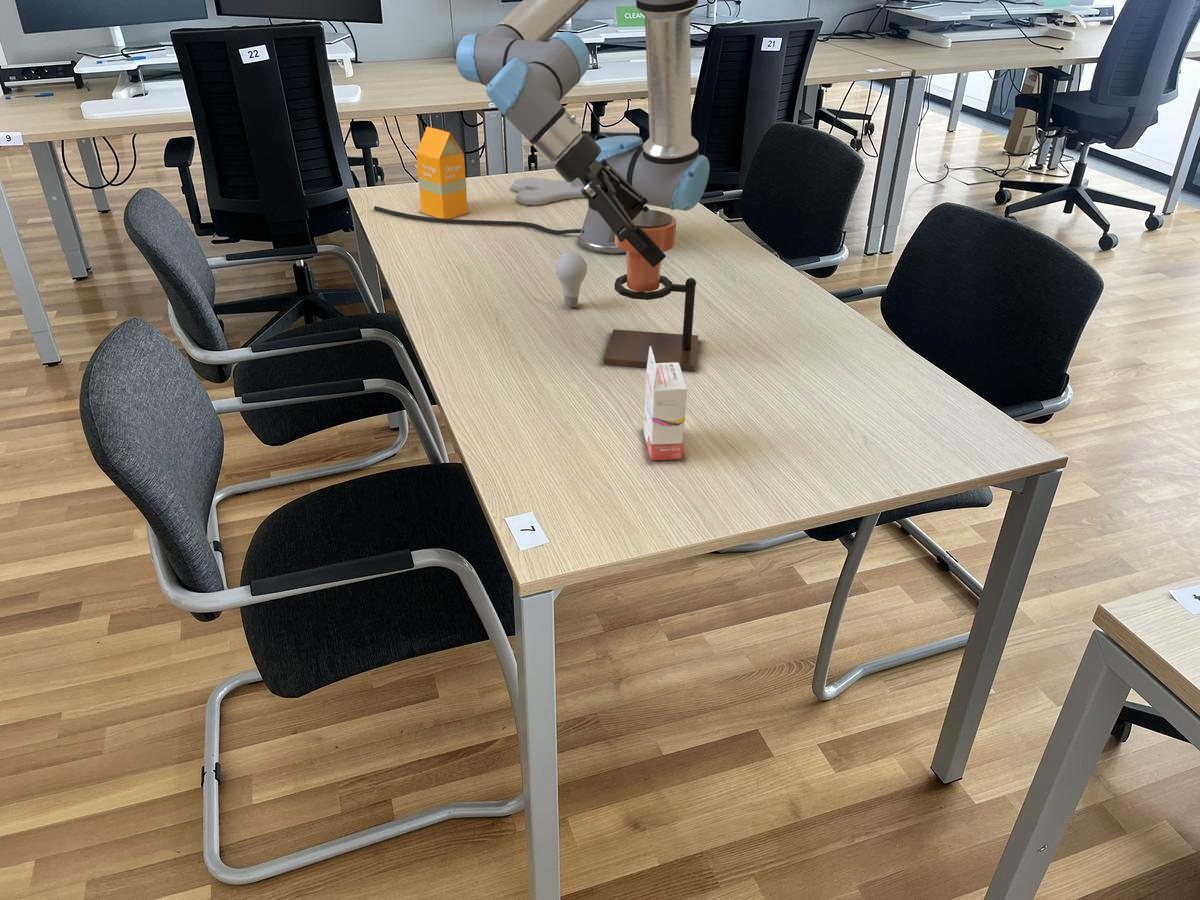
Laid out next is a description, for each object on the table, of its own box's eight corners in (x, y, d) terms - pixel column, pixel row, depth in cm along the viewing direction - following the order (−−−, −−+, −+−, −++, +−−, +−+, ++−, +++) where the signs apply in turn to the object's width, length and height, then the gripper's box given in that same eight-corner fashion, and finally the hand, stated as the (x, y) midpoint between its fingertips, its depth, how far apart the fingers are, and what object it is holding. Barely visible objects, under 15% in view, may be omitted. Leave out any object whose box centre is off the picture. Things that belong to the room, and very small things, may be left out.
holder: (650, 200, 236) (651, 181, 234) (518, 206, 231) (517, 187, 228) (635, 179, 252) (635, 161, 249) (511, 185, 247) (510, 166, 244)
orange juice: (443, 220, 222) (436, 135, 211) (420, 212, 227) (413, 128, 216) (468, 212, 227) (463, 129, 216) (445, 205, 232) (439, 123, 221)
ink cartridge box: (683, 460, 133) (690, 370, 126) (649, 461, 133) (654, 371, 125) (674, 429, 141) (680, 342, 133) (642, 430, 140) (646, 343, 132)
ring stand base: (603, 364, 159) (603, 358, 158) (613, 335, 169) (613, 329, 168) (694, 371, 157) (694, 365, 156) (698, 341, 167) (698, 335, 166)
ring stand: (610, 355, 159) (611, 284, 152) (617, 332, 167) (619, 263, 160) (689, 361, 157) (694, 289, 150) (693, 337, 165) (698, 268, 158)
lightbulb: (592, 304, 180) (592, 250, 174) (578, 316, 176) (578, 261, 170) (564, 298, 183) (563, 245, 177) (550, 310, 178) (549, 255, 172)
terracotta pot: (601, 286, 156) (602, 218, 149) (637, 270, 162) (639, 204, 156) (649, 302, 150) (652, 232, 144) (683, 284, 157) (688, 216, 151)
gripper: (572, 150, 135) (673, 260, 141) (596, 116, 154) (684, 214, 160) (538, 184, 138) (638, 290, 145) (565, 146, 157) (652, 241, 164)
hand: (662, 250), depth 152 cm, fingers closed on terracotta pot, 10 cm apart
